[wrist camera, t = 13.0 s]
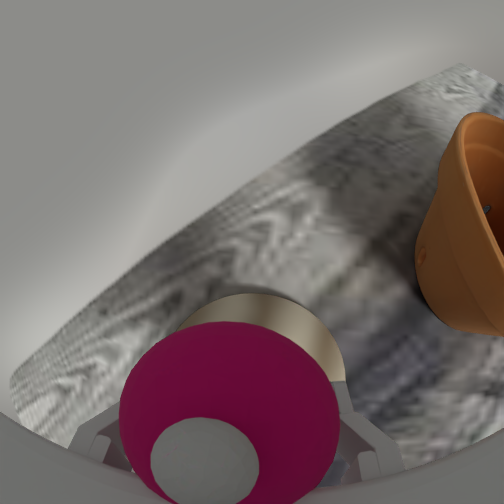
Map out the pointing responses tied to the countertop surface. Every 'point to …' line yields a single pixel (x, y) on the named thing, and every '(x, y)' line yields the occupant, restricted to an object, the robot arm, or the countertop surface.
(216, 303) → the disc
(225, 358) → the pepper mill
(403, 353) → the countertop surface
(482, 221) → the flower pot
